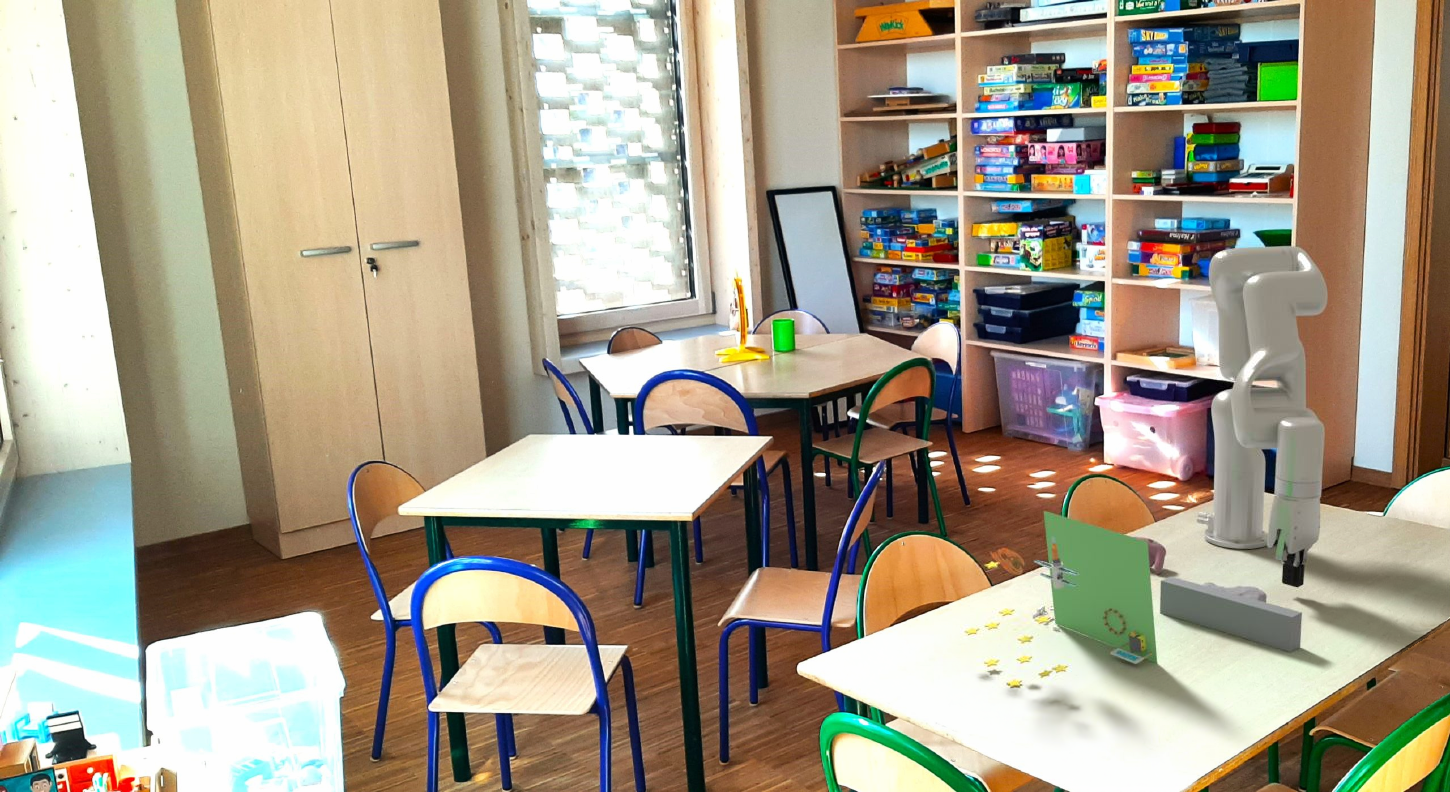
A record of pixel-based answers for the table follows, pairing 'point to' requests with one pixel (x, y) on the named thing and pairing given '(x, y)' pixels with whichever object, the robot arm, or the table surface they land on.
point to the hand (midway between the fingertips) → (1292, 584)
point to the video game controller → (1155, 554)
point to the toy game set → (1093, 588)
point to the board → (1231, 613)
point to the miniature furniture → (1041, 610)
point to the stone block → (1241, 591)
